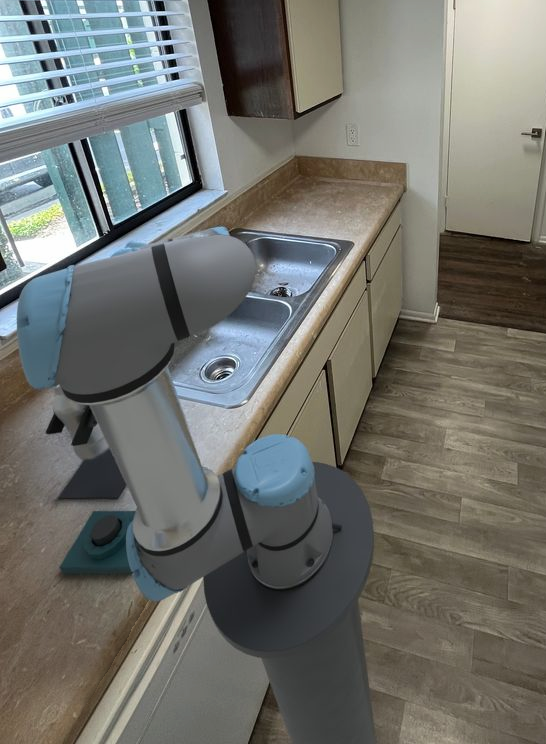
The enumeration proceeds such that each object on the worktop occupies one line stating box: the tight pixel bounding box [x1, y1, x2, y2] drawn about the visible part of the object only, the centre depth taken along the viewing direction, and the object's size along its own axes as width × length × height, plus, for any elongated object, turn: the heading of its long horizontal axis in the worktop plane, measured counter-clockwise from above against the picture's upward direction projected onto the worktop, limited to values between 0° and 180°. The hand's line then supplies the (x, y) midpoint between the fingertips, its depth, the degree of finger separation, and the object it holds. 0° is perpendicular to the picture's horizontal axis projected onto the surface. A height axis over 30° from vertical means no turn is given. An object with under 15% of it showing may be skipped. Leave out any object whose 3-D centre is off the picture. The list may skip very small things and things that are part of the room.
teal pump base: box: [58, 510, 136, 575], centre depth 78 cm, size 12×9×4 cm
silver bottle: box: [51, 384, 109, 461], centre depth 85 cm, size 6×7×20 cm
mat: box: [57, 449, 127, 500], centre depth 92 cm, size 12×12×1 cm
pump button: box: [91, 514, 121, 546], centre depth 77 cm, size 4×4×2 cm
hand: (66, 438), depth 83 cm, fingers closed on silver bottle, 6 cm apart
